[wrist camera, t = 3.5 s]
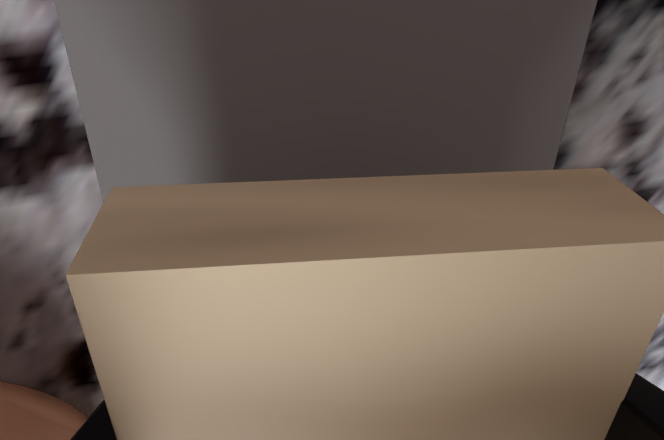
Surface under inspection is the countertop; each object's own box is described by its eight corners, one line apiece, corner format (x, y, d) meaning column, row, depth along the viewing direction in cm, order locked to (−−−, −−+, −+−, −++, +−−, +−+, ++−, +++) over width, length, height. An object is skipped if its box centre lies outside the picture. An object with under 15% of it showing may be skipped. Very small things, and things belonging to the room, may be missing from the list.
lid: (510, 459, 12) (553, 554, 10) (182, 492, 11) (167, 602, 9) (602, 168, 8) (697, 239, 6) (112, 187, 7) (66, 275, 5)
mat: (486, 390, 16) (492, 403, 16) (162, 419, 15) (160, 433, 15) (588, -25, 10) (603, -22, 10) (58, -27, 9) (48, -24, 9)
